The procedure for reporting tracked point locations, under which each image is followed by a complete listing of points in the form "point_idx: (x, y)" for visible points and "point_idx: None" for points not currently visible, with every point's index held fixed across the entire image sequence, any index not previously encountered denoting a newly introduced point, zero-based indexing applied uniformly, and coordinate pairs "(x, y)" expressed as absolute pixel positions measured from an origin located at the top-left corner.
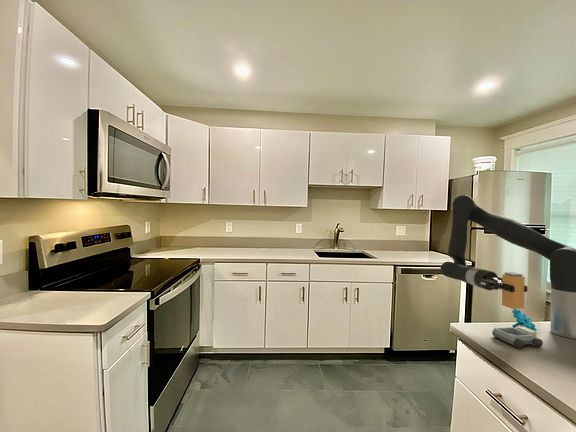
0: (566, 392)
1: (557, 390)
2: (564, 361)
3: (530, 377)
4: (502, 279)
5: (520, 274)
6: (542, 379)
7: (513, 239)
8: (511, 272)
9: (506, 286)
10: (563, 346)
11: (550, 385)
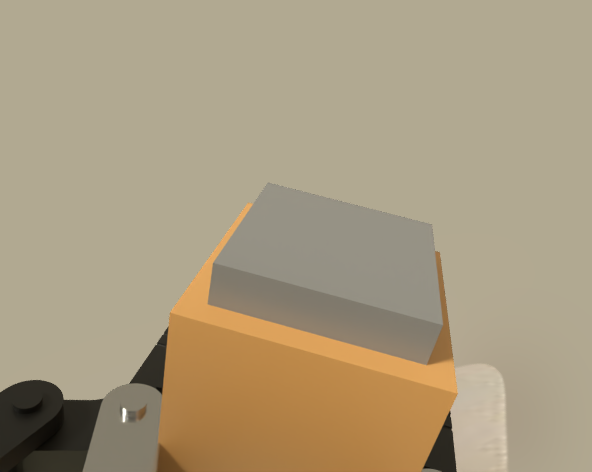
0: (457, 376)
1: (474, 389)
2: None
3: (499, 452)
4: (422, 467)
5: (301, 193)
6: (466, 430)
7: None
8: (282, 270)
9: (448, 426)
10: None
11: (471, 406)
